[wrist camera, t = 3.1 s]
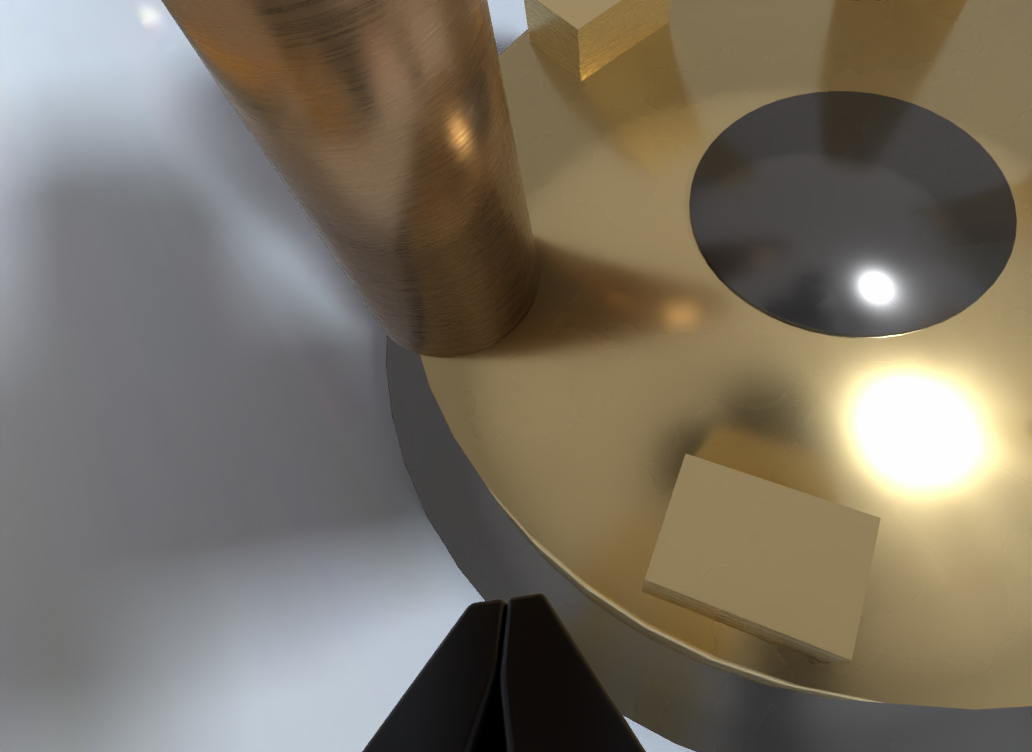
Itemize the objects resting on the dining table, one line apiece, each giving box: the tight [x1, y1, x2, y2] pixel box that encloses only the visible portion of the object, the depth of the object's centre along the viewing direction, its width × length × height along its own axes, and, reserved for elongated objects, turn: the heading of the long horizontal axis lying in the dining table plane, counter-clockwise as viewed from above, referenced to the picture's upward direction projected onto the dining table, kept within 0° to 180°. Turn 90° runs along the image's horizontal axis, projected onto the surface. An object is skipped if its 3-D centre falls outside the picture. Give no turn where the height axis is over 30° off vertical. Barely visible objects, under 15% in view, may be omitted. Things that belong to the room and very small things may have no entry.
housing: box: [386, 335, 1032, 752], centre depth 17 cm, size 21×24×2 cm
